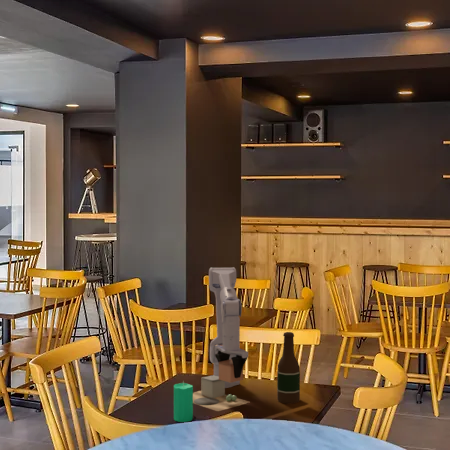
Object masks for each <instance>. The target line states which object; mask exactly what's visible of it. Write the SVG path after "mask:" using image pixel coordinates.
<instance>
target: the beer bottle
mask: <svg viewBox="0 0 450 450" xmlns="http://www.w3.org/2000/svg"><path fill="white" fill-rule="evenodd" d="M282 336H283V349H282V355H281V357H280V359H279V361H278V363H277V374H276V375H277V378H276V379H277V385H276V388H277V392H276V396H277V397H276V398H277V399H276V400H277V402H278V403H282V404H297V403H299V402H300V400H301V394H300V393H301V386H300V385H301V381H300V380H301V370H300V369H301V368H300V364H299V361H298V359H297V357H296V355H295V354H296V353H295V346H294V345H295V344H294V343H295V342H294V337H295V335H294V332H293V331H292V332H291V331H286V332H283V334H282Z"/></svg>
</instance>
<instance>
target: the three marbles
mask: <svg viewBox="0 0 450 450" xmlns="http://www.w3.org/2000/svg"><path fill="white" fill-rule="evenodd" d="M227 395H228V396H227V397H226V400H227V401H230V400H231V399H232V400H233V401H235V400H236V399H237V398H238V397H237V395H235V394H233V395H232V393H230V394H229V393H228V394H227Z"/></svg>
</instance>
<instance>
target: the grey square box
mask: <svg viewBox="0 0 450 450" xmlns="http://www.w3.org/2000/svg"><path fill="white" fill-rule="evenodd" d="M200 383H201V384H200V385H201V386H200V389H201V390H200V391H201V395H203V396H207V397H210V398H216V397H219V396H223V395H226V388H225V381H223V380H219V376H216V375H214V374H212V375H207V376H203V377H201V379H200Z"/></svg>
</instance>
